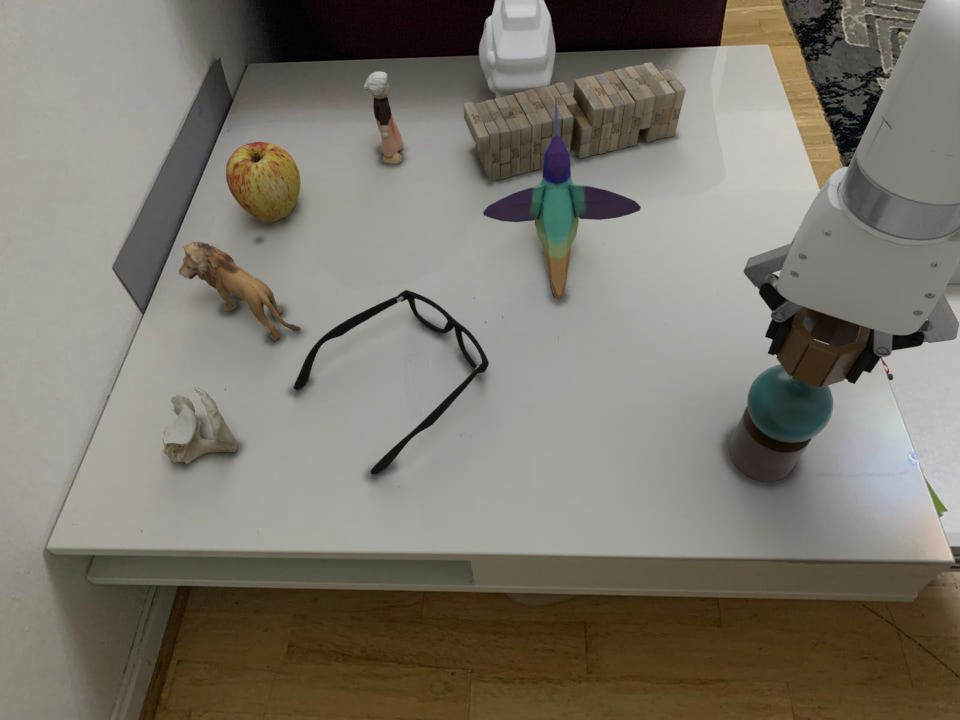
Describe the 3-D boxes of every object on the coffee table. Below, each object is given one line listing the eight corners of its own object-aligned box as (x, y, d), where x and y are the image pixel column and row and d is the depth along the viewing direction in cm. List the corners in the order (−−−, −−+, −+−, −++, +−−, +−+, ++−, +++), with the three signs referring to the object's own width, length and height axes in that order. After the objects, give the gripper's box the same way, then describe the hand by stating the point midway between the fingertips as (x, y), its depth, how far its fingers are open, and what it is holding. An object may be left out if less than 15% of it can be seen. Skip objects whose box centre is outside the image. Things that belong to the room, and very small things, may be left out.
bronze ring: (854, 345, 61) (876, 311, 57) (840, 396, 58) (861, 363, 54) (787, 322, 62) (803, 288, 59) (769, 371, 60) (786, 338, 56)
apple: (286, 179, 102) (265, 118, 94) (321, 210, 98) (303, 150, 90) (230, 210, 99) (203, 150, 91) (264, 244, 95) (239, 184, 87)
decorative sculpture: (615, 193, 97) (628, 95, 85) (631, 298, 86) (648, 203, 74) (488, 197, 98) (483, 100, 86) (487, 302, 87) (481, 208, 75)
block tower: (651, 111, 108) (464, 150, 104) (661, 58, 101) (461, 98, 97) (674, 142, 104) (480, 185, 99) (687, 89, 97) (478, 132, 92)
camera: (550, 62, 115) (553, -42, 102) (557, 133, 105) (561, 28, 92) (481, 65, 116) (476, -38, 103) (481, 136, 105) (474, 32, 92)
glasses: (505, 387, 81) (506, 360, 77) (378, 483, 74) (372, 458, 70) (413, 305, 88) (409, 277, 84) (290, 385, 81) (279, 358, 77)
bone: (135, 442, 76) (145, 367, 71) (188, 422, 81) (202, 351, 76) (185, 492, 73) (199, 418, 68) (237, 468, 78) (254, 397, 73)
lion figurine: (193, 307, 89) (163, 256, 82) (220, 278, 92) (194, 226, 84) (289, 348, 84) (266, 298, 77) (315, 316, 87) (296, 265, 80)
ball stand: (806, 439, 74) (853, 365, 64) (788, 497, 71) (835, 429, 60) (736, 412, 76) (770, 336, 66) (715, 467, 73) (748, 397, 62)
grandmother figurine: (412, 164, 103) (399, 84, 92) (386, 171, 102) (370, 92, 92) (395, 133, 107) (381, 53, 97) (370, 140, 106) (354, 61, 96)
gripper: (1068, 188, 44) (932, 359, 59) (785, 117, 50) (725, 291, 64) (1060, 271, 41) (917, 431, 55) (755, 185, 46) (698, 352, 61)
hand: (814, 354), depth 60 cm, fingers closed on bronze ring, 5 cm apart
